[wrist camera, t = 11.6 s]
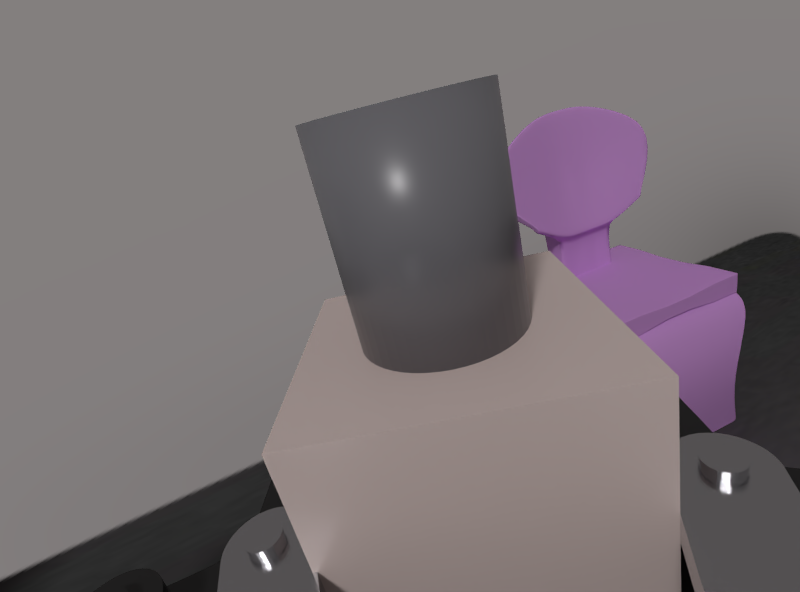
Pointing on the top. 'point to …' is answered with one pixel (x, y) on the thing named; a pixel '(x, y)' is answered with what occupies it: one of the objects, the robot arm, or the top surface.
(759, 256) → the top surface
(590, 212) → the toy chair
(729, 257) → the top surface
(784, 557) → the robot arm
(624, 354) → the lotion bottle
